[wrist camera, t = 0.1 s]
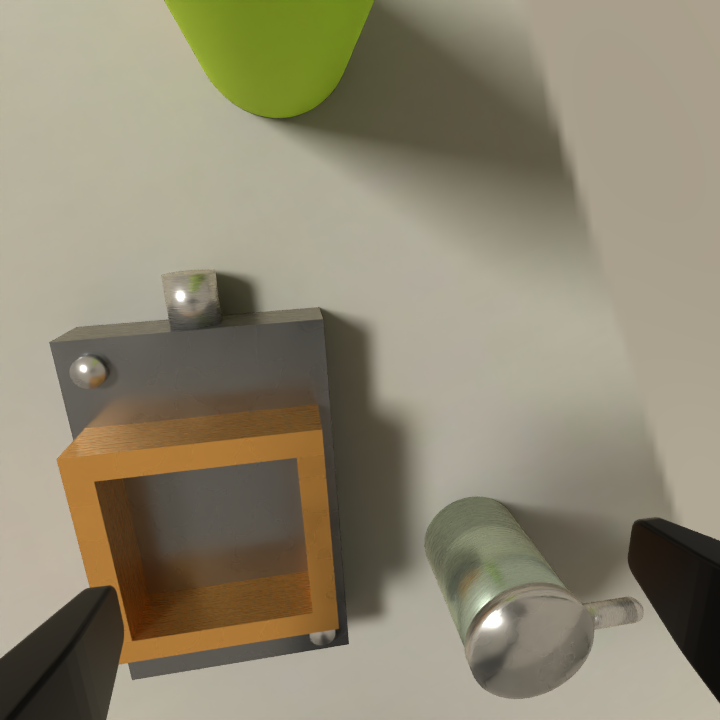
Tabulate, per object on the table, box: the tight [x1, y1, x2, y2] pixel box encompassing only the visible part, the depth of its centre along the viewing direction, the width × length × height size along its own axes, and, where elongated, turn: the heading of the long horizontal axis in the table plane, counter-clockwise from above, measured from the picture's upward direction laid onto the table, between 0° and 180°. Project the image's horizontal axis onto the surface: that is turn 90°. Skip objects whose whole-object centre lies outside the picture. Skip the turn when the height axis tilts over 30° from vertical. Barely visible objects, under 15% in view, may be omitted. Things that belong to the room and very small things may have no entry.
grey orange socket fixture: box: [49, 270, 349, 680], centre depth 21 cm, size 18×10×5 cm, turn 3°
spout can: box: [424, 497, 643, 699], centre depth 23 cm, size 5×8×7 cm, turn 93°
